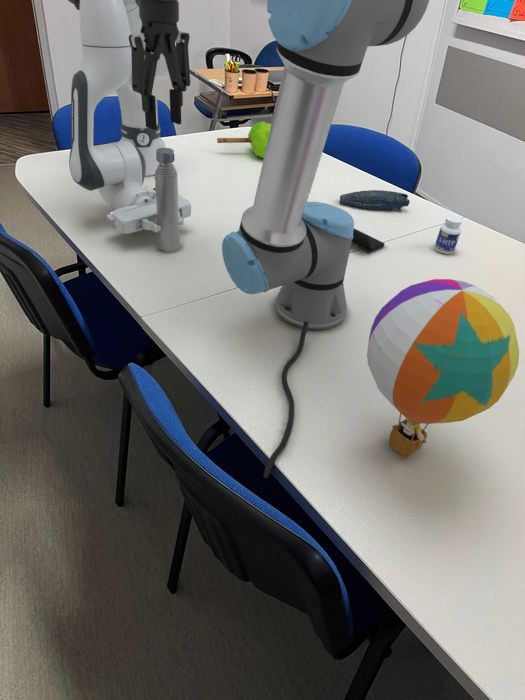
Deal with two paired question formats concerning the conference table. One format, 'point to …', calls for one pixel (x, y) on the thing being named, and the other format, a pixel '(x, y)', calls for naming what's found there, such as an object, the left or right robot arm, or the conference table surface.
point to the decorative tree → (253, 138)
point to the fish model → (376, 199)
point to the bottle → (167, 207)
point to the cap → (165, 155)
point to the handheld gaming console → (366, 241)
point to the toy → (440, 356)
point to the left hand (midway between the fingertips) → (170, 225)
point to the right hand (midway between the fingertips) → (163, 125)
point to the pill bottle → (448, 235)
